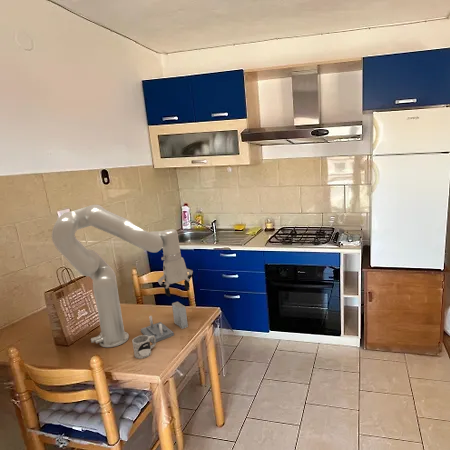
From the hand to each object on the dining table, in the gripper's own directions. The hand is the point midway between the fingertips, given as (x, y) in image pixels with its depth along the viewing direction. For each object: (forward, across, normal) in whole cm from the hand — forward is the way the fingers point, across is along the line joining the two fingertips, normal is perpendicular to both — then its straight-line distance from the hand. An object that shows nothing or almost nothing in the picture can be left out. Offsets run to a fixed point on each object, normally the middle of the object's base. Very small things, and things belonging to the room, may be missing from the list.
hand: (178, 292), depth 167 cm
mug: (+16, -23, -12) cm, 30 cm away
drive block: (+16, -1, 0) cm, 16 cm away
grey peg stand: (+16, -13, 0) cm, 20 cm away
